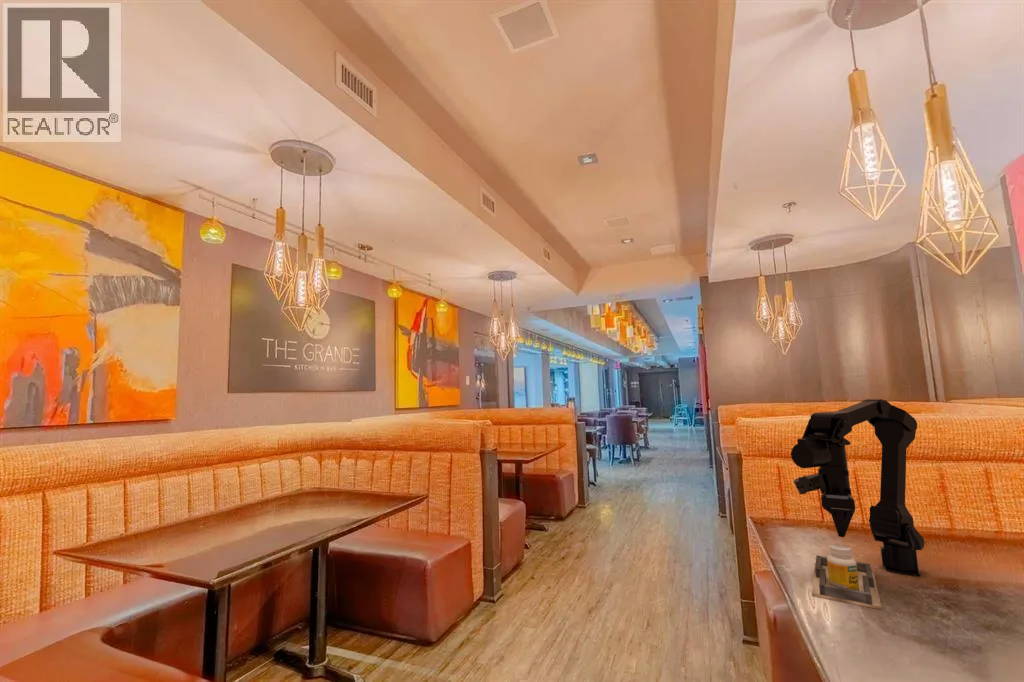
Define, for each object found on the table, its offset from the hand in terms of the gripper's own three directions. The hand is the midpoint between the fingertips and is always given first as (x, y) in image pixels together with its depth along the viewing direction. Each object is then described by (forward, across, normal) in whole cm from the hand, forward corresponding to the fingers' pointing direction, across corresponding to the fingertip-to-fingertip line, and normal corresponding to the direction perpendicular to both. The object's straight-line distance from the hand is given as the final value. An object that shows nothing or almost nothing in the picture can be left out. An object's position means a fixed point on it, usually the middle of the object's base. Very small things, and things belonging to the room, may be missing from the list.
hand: (840, 531), depth 108 cm
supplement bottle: (+11, +9, -1) cm, 14 cm away
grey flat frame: (+12, +2, 0) cm, 12 cm away
